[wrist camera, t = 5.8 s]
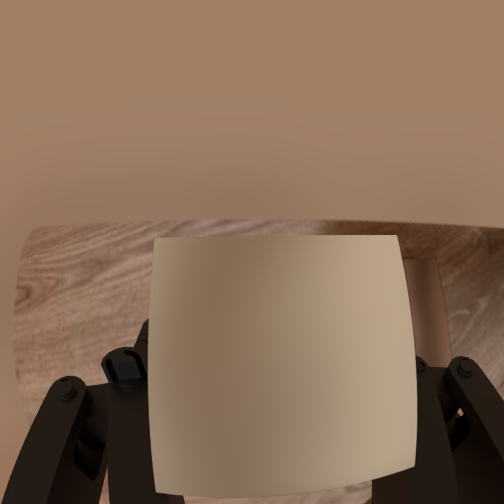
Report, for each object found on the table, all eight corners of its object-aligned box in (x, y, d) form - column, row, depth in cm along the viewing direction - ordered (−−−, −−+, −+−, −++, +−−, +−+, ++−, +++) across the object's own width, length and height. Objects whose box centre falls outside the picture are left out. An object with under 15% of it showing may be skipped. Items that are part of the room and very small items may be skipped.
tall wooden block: (298, 321, 17) (396, 235, 6) (302, 404, 15) (414, 466, 4) (213, 323, 17) (154, 238, 6) (214, 407, 15) (156, 492, 4)
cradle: (423, 267, 32) (436, 258, 29) (437, 378, 27) (452, 377, 24) (246, 272, 31) (247, 262, 28) (250, 407, 26) (252, 412, 23)
